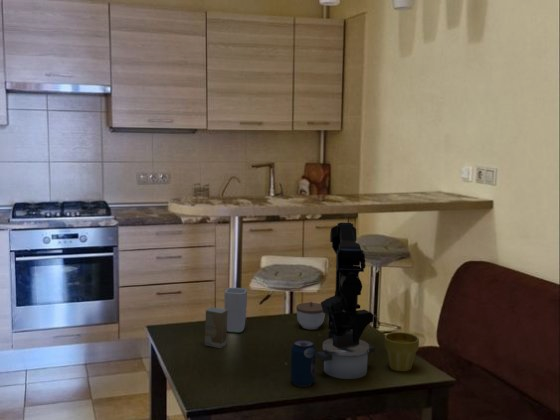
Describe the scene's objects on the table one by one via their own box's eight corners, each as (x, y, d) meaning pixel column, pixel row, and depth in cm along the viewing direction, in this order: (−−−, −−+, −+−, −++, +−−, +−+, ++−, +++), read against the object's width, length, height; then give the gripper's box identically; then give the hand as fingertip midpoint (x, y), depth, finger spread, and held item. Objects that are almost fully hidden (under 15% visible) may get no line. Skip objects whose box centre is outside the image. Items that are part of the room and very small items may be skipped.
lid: (351, 338, 205) (352, 323, 205) (378, 352, 193) (379, 337, 193) (313, 344, 199) (314, 329, 198) (339, 359, 187) (339, 343, 186)
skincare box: (204, 345, 216) (204, 310, 214) (210, 341, 220) (210, 306, 218) (221, 348, 213) (221, 312, 212) (227, 344, 217) (227, 309, 216)
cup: (227, 327, 236) (228, 287, 234) (247, 328, 235) (247, 288, 233) (223, 333, 229) (223, 292, 227) (243, 334, 228) (244, 293, 226)
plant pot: (397, 376, 194) (398, 344, 192) (376, 364, 203) (378, 334, 201) (424, 370, 198) (426, 340, 197) (403, 359, 207) (404, 330, 206)
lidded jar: (330, 327, 239) (331, 302, 238) (312, 333, 231) (313, 308, 230) (308, 320, 246) (308, 296, 245) (289, 326, 238) (290, 302, 237)
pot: (358, 359, 207) (359, 337, 206) (383, 373, 196) (384, 350, 195) (307, 368, 198) (308, 346, 197) (330, 383, 187) (331, 360, 186)
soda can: (317, 386, 184) (318, 346, 183) (293, 388, 183) (294, 347, 181) (311, 377, 191) (312, 338, 190) (288, 378, 190) (289, 339, 188)
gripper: (309, 282, 198) (307, 332, 200) (343, 298, 182) (341, 351, 184) (339, 279, 203) (338, 327, 205) (375, 294, 187) (373, 346, 189)
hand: (346, 337), depth 196 cm, fingers open, 9 cm apart
